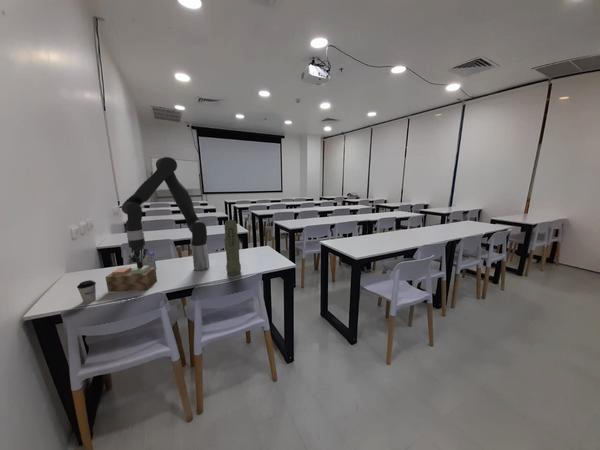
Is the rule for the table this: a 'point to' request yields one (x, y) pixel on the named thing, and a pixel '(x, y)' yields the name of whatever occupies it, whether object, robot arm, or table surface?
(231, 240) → the green carved pillar
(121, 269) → the plunger
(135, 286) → the housing
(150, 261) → the ink cartridge box
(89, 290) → the coffee cup
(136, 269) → the plunger
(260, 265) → the table surface
